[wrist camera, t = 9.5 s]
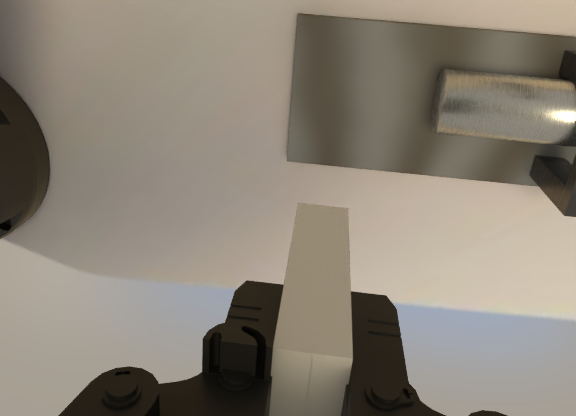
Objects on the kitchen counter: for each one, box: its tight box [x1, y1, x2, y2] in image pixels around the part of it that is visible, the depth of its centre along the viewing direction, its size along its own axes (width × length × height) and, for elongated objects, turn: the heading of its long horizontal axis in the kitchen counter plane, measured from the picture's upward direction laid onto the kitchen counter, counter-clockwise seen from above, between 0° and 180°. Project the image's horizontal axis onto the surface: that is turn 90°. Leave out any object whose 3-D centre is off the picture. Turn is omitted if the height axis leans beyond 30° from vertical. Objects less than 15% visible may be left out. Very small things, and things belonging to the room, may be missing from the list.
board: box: [287, 14, 576, 186], centre depth 36 cm, size 31×10×1 cm, turn 86°
